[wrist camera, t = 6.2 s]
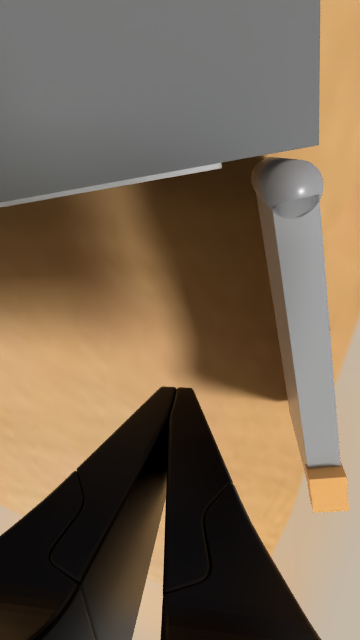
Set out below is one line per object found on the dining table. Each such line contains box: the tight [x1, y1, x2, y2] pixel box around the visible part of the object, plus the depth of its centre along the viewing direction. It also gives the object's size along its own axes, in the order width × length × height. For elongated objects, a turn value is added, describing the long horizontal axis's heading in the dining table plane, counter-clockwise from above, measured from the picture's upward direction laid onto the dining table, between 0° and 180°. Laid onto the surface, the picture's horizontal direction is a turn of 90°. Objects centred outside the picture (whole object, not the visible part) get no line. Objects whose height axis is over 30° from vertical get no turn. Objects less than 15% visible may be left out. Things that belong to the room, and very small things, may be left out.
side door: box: [251, 157, 349, 512], centre depth 11 cm, size 1×11×5 cm, turn 15°
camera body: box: [0, 0, 320, 208], centre depth 8 cm, size 8×12×6 cm
